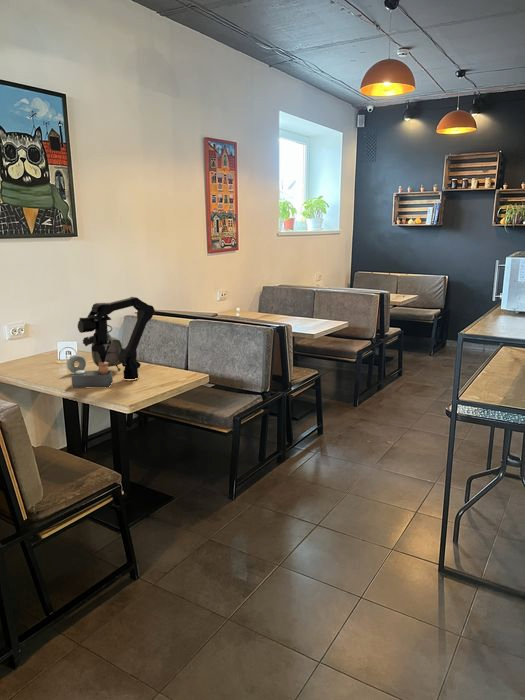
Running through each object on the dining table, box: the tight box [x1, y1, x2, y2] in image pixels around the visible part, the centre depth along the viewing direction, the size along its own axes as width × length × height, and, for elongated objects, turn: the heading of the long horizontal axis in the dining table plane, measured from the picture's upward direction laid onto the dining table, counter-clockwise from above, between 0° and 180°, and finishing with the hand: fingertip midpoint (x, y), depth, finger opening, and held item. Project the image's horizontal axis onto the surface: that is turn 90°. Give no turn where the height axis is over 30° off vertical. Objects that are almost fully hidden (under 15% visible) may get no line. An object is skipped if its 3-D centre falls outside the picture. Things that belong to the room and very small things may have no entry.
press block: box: [71, 369, 114, 389], centre depth 246 cm, size 17×9×6 cm, turn 96°
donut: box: [66, 354, 87, 374], centre depth 267 cm, size 10×3×10 cm, turn 138°
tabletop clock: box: [91, 324, 123, 372], centre depth 270 cm, size 14×9×25 cm, turn 118°
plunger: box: [75, 369, 86, 375], centre depth 245 cm, size 4×4×6 cm
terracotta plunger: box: [98, 362, 109, 374], centre depth 245 cm, size 4×4×6 cm
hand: (103, 362), depth 245 cm, fingers closed
